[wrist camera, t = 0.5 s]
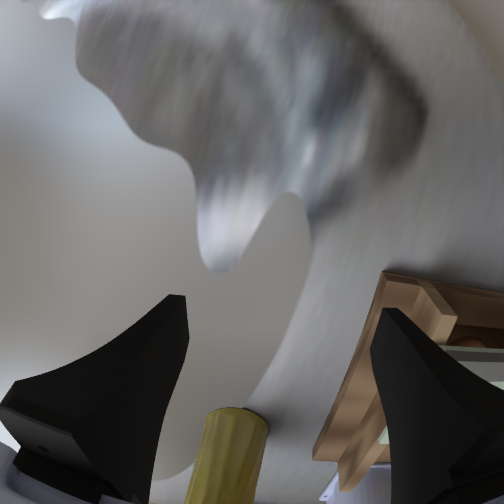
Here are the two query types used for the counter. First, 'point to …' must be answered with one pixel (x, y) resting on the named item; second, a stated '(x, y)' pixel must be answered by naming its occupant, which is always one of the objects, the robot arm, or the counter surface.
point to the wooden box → (361, 374)
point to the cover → (473, 368)
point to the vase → (228, 458)
